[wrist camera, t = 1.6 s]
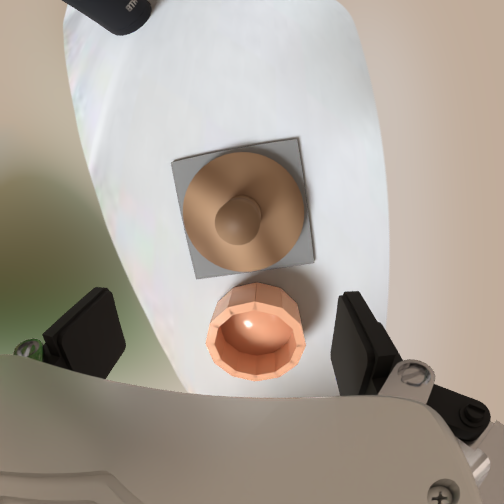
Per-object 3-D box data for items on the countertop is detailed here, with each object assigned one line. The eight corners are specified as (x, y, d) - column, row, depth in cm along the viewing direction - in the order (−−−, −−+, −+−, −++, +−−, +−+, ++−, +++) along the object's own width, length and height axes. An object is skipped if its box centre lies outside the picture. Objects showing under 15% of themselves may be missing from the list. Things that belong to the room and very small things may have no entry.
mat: (313, 261, 32) (314, 262, 32) (197, 277, 34) (196, 279, 33) (296, 139, 28) (297, 139, 28) (172, 162, 30) (170, 162, 29)
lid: (244, 289, 33) (239, 315, 27) (163, 213, 31) (141, 224, 25) (326, 212, 30) (340, 224, 24) (242, 128, 28) (235, 119, 22)
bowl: (257, 368, 38) (255, 392, 33) (197, 320, 36) (188, 342, 31) (317, 322, 35) (323, 345, 30) (256, 265, 33) (254, 282, 28)
